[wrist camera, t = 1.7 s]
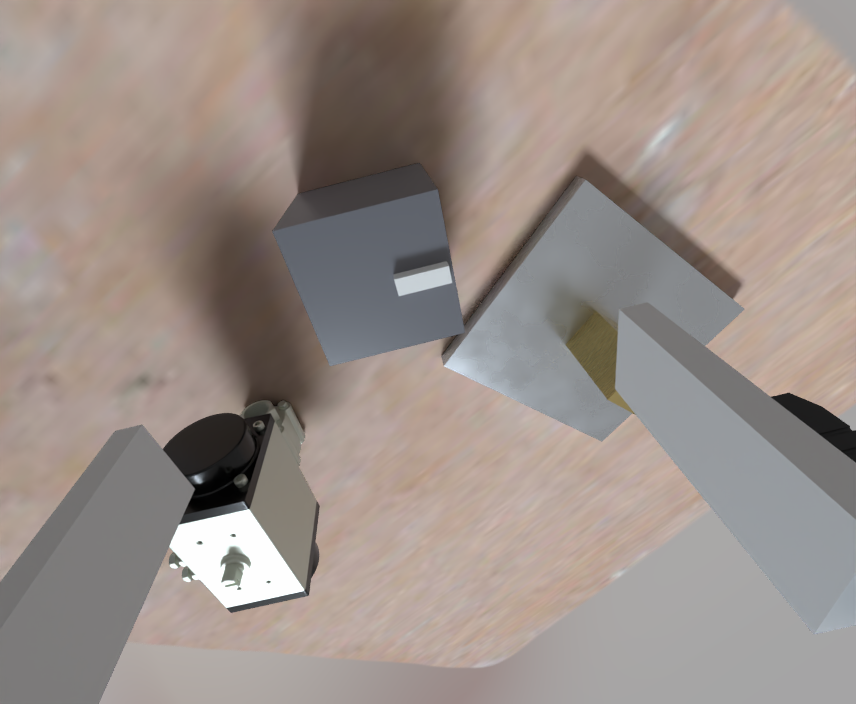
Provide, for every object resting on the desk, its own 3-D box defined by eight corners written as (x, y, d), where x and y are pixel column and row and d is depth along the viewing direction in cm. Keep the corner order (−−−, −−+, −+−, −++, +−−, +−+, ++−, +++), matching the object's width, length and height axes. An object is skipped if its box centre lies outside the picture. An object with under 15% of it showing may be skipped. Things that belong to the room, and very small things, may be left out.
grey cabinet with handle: (338, 303, 26) (328, 373, 20) (297, 193, 22) (268, 235, 16) (443, 277, 26) (467, 338, 20) (419, 162, 22) (439, 192, 16)
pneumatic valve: (277, 350, 27) (223, 502, 17) (331, 467, 34) (315, 628, 24) (195, 368, 27) (93, 530, 17) (265, 481, 34) (220, 648, 24)
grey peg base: (441, 356, 29) (460, 426, 23) (576, 175, 23) (647, 205, 17) (595, 431, 35) (642, 502, 29) (731, 301, 30) (824, 356, 24)
